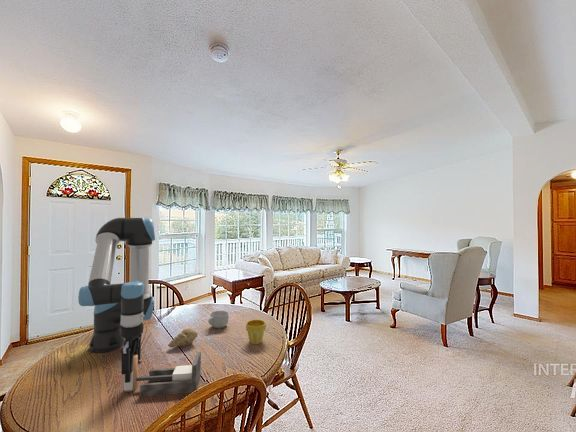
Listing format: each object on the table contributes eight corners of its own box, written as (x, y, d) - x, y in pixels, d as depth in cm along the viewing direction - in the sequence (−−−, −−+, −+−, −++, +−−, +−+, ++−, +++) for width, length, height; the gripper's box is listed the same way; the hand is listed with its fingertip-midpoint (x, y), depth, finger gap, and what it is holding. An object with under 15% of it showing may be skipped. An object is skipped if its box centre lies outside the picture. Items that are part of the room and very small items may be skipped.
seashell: (173, 354, 133) (173, 337, 133) (164, 348, 138) (165, 332, 138) (198, 344, 144) (198, 328, 144) (189, 339, 149) (190, 324, 149)
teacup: (221, 321, 175) (221, 309, 175) (232, 326, 168) (232, 312, 168) (201, 328, 164) (202, 314, 164) (212, 333, 157) (213, 319, 157)
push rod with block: (122, 394, 102) (122, 361, 103) (128, 384, 108) (129, 353, 108) (191, 389, 106) (191, 357, 106) (194, 380, 112) (194, 349, 112)
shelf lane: (140, 396, 101) (140, 368, 101) (150, 379, 112) (150, 354, 112) (195, 392, 104) (196, 365, 104) (200, 376, 114) (200, 351, 115)
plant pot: (260, 347, 141) (260, 327, 141) (242, 344, 144) (242, 325, 144) (268, 339, 151) (268, 320, 151) (251, 336, 154) (251, 318, 154)
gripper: (133, 332, 98) (132, 399, 98) (150, 315, 115) (149, 372, 115) (110, 333, 97) (109, 401, 97) (130, 316, 114) (129, 374, 114)
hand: (131, 385), depth 106 cm, fingers closed on push rod with block, 4 cm apart
